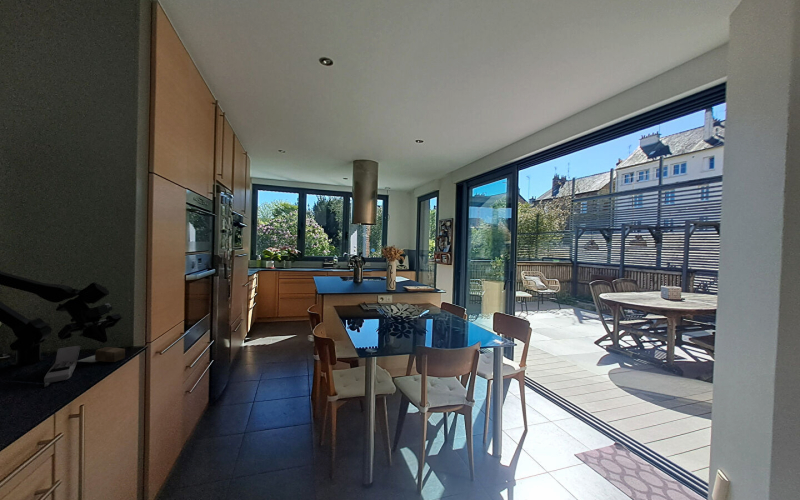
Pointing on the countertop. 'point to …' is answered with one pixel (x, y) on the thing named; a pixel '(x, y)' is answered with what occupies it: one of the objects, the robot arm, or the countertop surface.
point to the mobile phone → (63, 365)
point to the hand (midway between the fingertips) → (105, 341)
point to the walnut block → (109, 354)
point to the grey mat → (88, 359)
